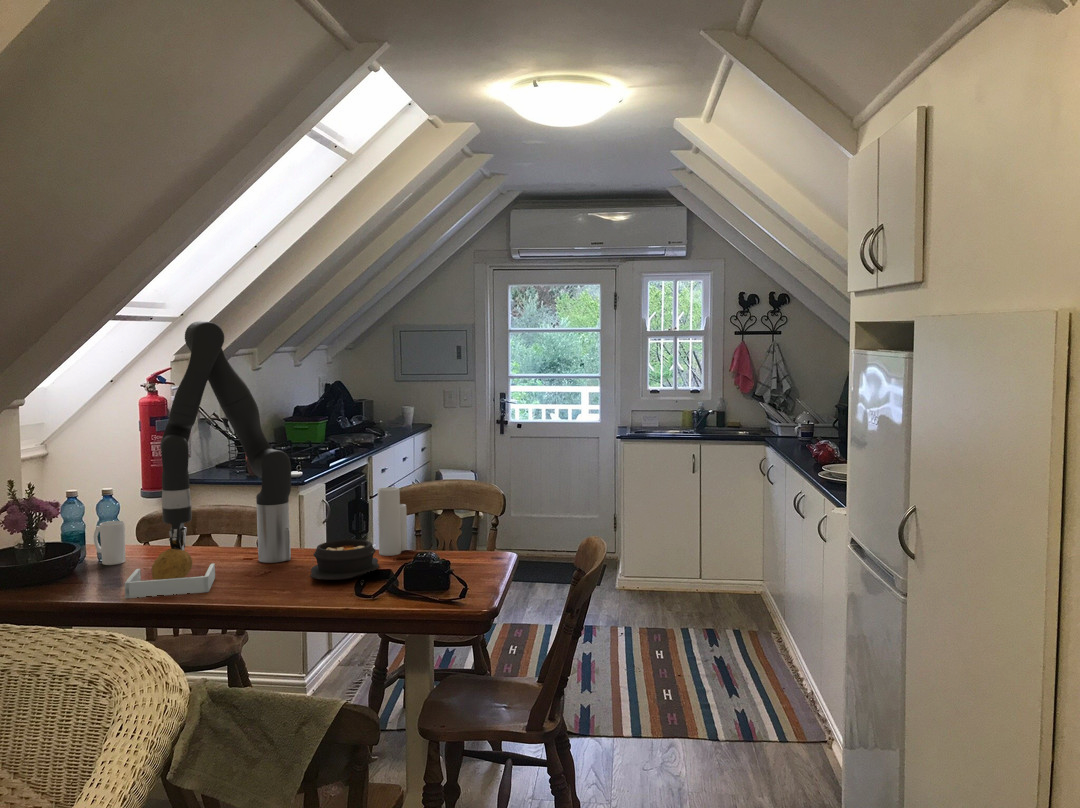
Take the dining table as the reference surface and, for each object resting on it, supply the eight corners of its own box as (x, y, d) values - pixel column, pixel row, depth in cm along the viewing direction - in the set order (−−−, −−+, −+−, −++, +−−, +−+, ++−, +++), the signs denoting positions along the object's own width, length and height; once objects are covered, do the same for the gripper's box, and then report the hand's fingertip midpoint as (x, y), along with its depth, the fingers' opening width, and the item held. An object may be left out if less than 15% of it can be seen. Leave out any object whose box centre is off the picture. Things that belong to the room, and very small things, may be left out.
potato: (138, 554, 228) (171, 552, 227) (167, 546, 241) (198, 543, 240) (142, 590, 228) (174, 588, 226) (171, 579, 241) (202, 577, 240)
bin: (215, 577, 240) (214, 563, 239) (208, 592, 225) (208, 576, 225) (136, 583, 235) (136, 568, 234) (125, 598, 220) (124, 583, 220)
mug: (131, 560, 261) (129, 521, 261) (115, 565, 255) (113, 525, 254) (103, 558, 264) (101, 520, 263) (86, 564, 257) (84, 524, 257)
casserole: (359, 587, 228) (358, 556, 227) (293, 585, 231) (292, 554, 230) (392, 564, 252) (391, 536, 252) (332, 562, 255) (331, 534, 255)
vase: (396, 556, 262) (395, 490, 261) (374, 555, 264) (372, 490, 262) (409, 547, 273) (408, 484, 272) (387, 547, 275) (386, 484, 273)
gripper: (187, 508, 236) (189, 571, 237) (194, 500, 249) (197, 559, 250) (157, 510, 234) (160, 573, 235) (166, 501, 247) (169, 561, 248)
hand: (179, 566), depth 243 cm, fingers closed
